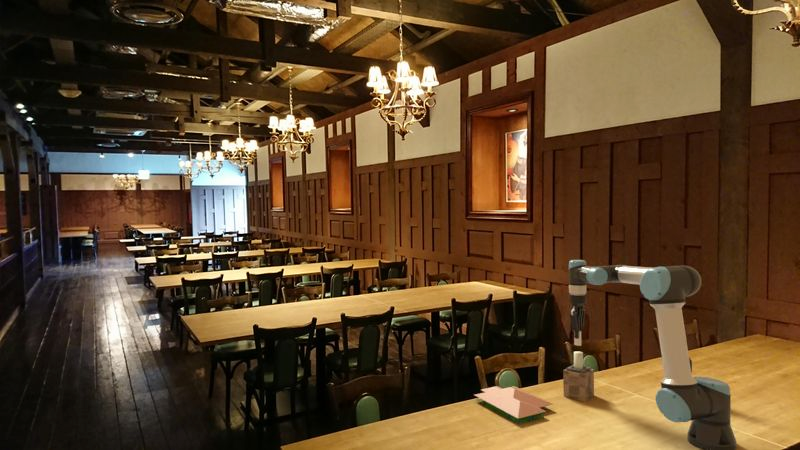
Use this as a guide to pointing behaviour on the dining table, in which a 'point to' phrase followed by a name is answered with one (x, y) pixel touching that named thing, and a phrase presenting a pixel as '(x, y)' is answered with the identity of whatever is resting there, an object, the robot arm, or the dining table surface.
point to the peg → (578, 360)
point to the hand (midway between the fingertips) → (577, 345)
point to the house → (513, 402)
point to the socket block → (578, 383)
